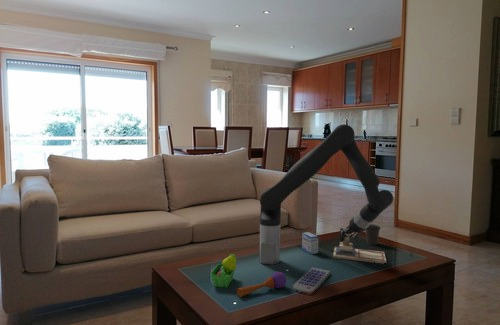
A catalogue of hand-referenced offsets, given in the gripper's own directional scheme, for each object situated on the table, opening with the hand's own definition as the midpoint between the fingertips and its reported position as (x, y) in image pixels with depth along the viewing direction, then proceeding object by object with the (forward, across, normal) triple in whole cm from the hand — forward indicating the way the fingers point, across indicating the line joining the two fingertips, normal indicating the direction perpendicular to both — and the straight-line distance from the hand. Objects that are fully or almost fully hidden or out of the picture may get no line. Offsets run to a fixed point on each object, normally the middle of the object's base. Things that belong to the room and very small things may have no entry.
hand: (343, 239), depth 173 cm
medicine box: (+11, +14, -1) cm, 17 cm away
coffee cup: (+10, -24, 0) cm, 26 cm away
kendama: (-11, +54, +21) cm, 59 cm away
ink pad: (+3, 0, +5) cm, 6 cm away
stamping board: (+1, -5, +9) cm, 10 cm away
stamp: (+2, 0, +5) cm, 5 cm away
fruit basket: (-3, +65, +12) cm, 66 cm away
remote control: (-11, +33, +21) cm, 40 cm away
